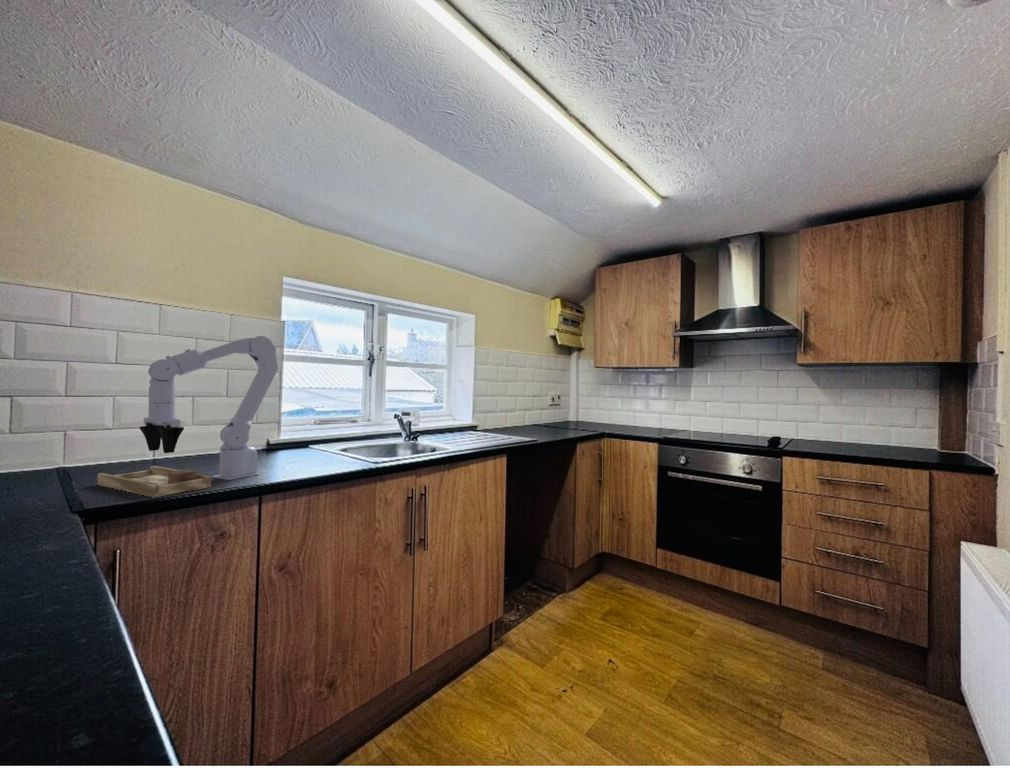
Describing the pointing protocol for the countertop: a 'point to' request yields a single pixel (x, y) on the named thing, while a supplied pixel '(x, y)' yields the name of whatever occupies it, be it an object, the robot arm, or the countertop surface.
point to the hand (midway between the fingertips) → (161, 451)
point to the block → (181, 476)
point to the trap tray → (152, 482)
